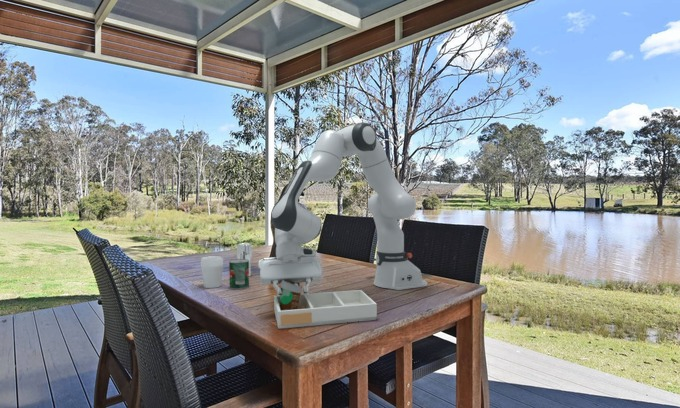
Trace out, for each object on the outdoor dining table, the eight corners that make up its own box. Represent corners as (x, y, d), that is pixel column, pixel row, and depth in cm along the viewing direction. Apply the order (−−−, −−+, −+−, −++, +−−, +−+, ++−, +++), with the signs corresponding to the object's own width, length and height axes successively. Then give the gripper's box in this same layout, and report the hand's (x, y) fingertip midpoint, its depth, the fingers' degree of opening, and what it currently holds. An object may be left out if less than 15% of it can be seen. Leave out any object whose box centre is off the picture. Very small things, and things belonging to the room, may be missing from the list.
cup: (196, 287, 155) (195, 258, 155) (211, 282, 164) (210, 255, 163) (213, 290, 152) (213, 260, 151) (228, 284, 160) (227, 256, 160)
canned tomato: (225, 287, 156) (225, 260, 156) (242, 283, 162) (242, 258, 162) (236, 290, 151) (235, 263, 150) (253, 286, 157) (252, 260, 156)
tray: (361, 304, 133) (361, 289, 133) (377, 320, 116) (377, 304, 116) (274, 310, 126) (274, 295, 125) (278, 329, 109) (278, 312, 109)
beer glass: (248, 277, 172) (248, 245, 172) (234, 277, 174) (233, 244, 173) (254, 274, 179) (254, 243, 178) (241, 273, 180) (240, 242, 180)
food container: (274, 304, 125) (279, 274, 125) (292, 306, 126) (298, 277, 126) (275, 316, 113) (282, 283, 113) (296, 319, 114) (302, 286, 114)
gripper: (258, 252, 122) (259, 290, 113) (320, 250, 127) (326, 286, 118) (257, 263, 127) (258, 301, 118) (317, 260, 132) (323, 296, 123)
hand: (293, 293), depth 118 cm, fingers open, 7 cm apart
